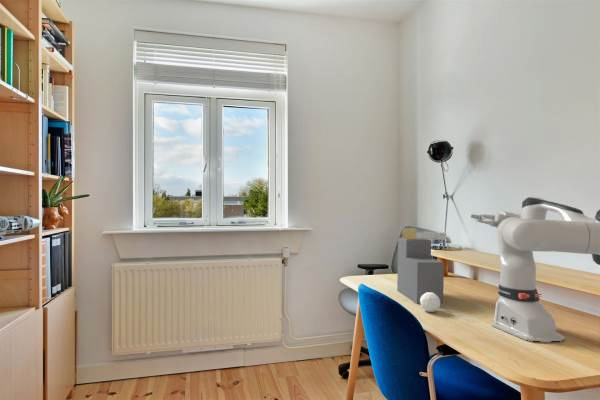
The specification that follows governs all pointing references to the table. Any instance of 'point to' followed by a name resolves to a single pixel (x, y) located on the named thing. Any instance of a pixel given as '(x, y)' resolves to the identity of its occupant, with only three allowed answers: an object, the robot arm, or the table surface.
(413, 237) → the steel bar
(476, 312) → the table surface
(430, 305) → the ball
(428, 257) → the grey tall stepped block
